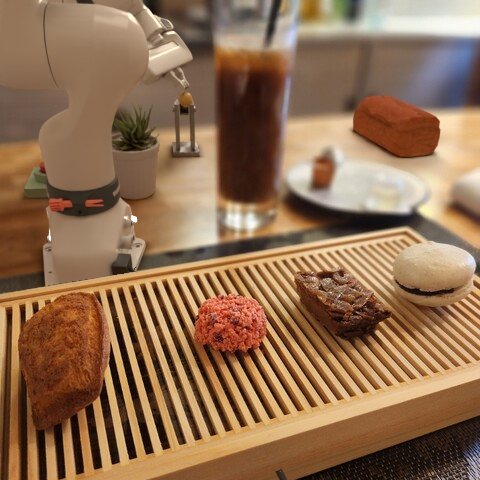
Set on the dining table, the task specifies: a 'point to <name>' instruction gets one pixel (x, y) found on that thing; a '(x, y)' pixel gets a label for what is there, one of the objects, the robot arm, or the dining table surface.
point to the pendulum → (190, 147)
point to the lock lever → (185, 103)
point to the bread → (397, 126)
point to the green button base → (36, 184)
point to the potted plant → (135, 156)
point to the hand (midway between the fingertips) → (185, 89)
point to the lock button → (42, 167)
